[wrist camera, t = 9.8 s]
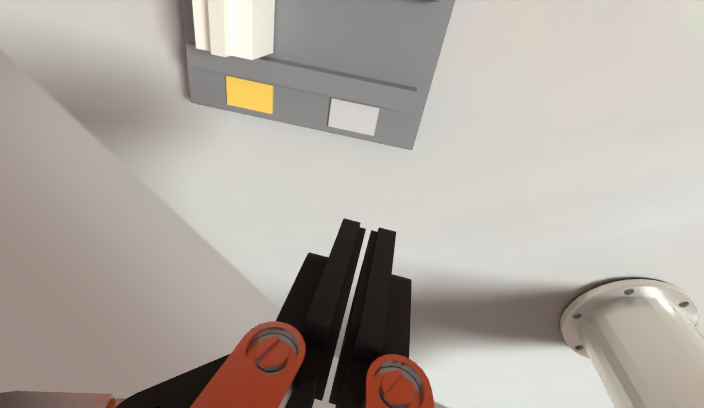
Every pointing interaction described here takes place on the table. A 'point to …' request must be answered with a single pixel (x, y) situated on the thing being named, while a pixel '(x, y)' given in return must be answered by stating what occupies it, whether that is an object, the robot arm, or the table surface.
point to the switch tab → (234, 27)
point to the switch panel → (331, 67)
